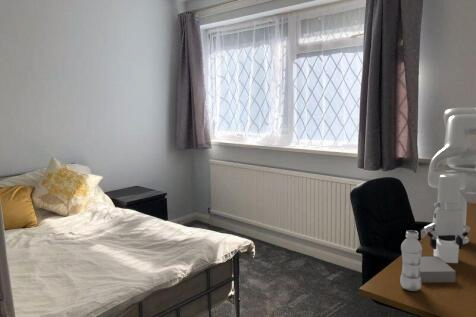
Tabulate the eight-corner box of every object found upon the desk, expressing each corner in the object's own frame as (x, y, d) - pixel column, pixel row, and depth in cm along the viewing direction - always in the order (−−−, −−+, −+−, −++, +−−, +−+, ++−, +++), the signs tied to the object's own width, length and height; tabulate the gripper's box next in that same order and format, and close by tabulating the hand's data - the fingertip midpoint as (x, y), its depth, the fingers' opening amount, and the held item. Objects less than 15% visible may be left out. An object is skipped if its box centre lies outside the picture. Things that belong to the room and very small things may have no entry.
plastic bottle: (412, 295, 127) (414, 236, 124) (395, 287, 133) (397, 231, 130) (425, 290, 130) (427, 233, 127) (408, 282, 136) (410, 227, 133)
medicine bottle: (458, 263, 150) (460, 233, 148) (438, 262, 151) (439, 233, 149) (452, 256, 156) (453, 227, 155) (433, 255, 158) (434, 227, 156)
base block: (405, 266, 148) (405, 256, 148) (437, 266, 148) (438, 256, 147) (419, 282, 135) (420, 271, 135) (455, 282, 135) (455, 271, 134)
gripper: (429, 208, 147) (427, 251, 149) (476, 208, 146) (473, 251, 149) (421, 203, 155) (419, 244, 157) (465, 203, 154) (463, 244, 156)
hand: (445, 247), depth 153 cm, fingers open, 9 cm apart
